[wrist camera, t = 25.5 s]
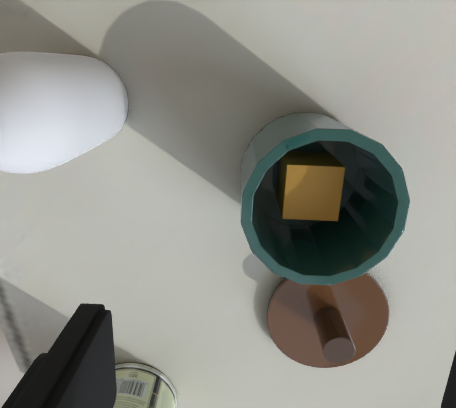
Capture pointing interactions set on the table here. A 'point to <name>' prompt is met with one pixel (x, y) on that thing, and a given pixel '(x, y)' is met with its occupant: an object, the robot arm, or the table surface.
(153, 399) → the coffee can
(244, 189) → the canister
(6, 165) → the milk bottle
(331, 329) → the lid
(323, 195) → the block
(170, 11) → the table surface
